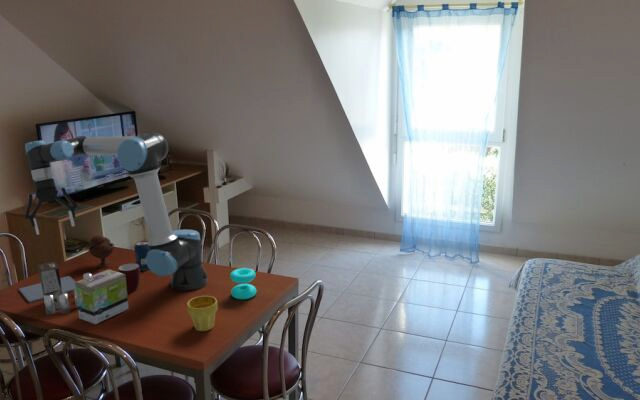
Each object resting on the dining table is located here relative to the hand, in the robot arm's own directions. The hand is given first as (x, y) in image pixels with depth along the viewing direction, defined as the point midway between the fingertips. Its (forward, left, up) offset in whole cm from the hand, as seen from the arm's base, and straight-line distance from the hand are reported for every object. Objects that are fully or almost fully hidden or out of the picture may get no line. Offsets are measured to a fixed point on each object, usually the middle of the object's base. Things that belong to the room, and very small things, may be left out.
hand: (56, 230), depth 235 cm
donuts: (-59, -51, -24) cm, 82 cm away
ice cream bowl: (+10, -20, -24) cm, 33 cm away
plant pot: (-72, -26, -24) cm, 81 cm away
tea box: (-38, -3, -24) cm, 46 cm away
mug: (-24, -18, -24) cm, 39 cm away
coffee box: (-17, +9, -24) cm, 31 cm away
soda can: (-5, -33, -24) cm, 42 cm away
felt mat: (-1, +6, -24) cm, 25 cm away
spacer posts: (-20, +3, -24) cm, 31 cm away
